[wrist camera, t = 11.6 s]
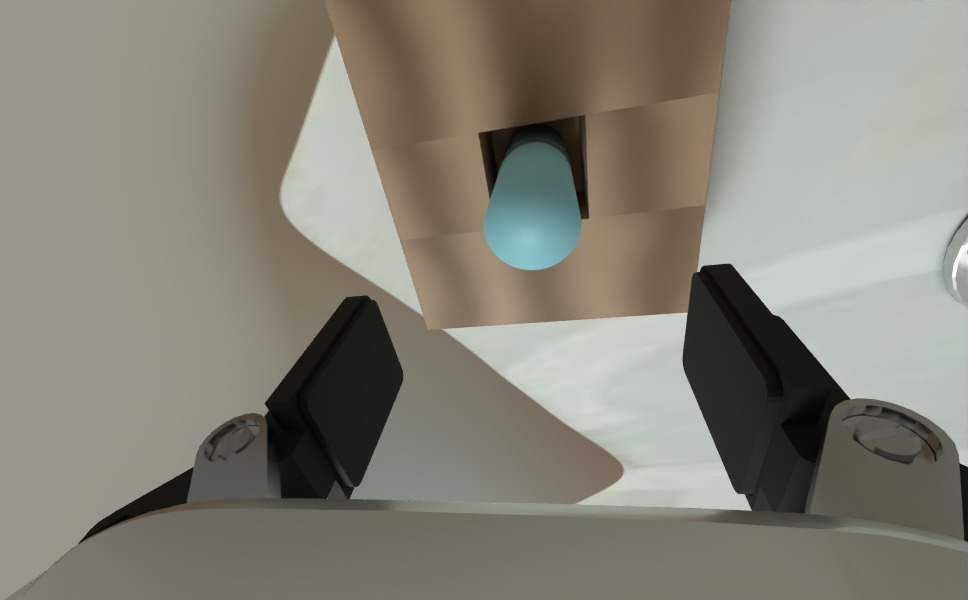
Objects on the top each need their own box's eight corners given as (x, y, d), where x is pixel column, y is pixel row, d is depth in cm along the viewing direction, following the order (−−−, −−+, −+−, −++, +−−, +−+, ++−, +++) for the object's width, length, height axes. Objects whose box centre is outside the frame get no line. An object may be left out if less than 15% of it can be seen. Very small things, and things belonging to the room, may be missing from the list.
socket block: (695, -79, 20) (744, -117, 15) (668, 267, 31) (692, 312, 26) (368, 2, 24) (322, -7, 19) (444, 287, 34) (427, 329, 29)
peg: (565, 117, 25) (580, 170, 15) (569, 182, 27) (584, 266, 17) (501, 128, 26) (474, 185, 16) (510, 190, 28) (491, 275, 18)
